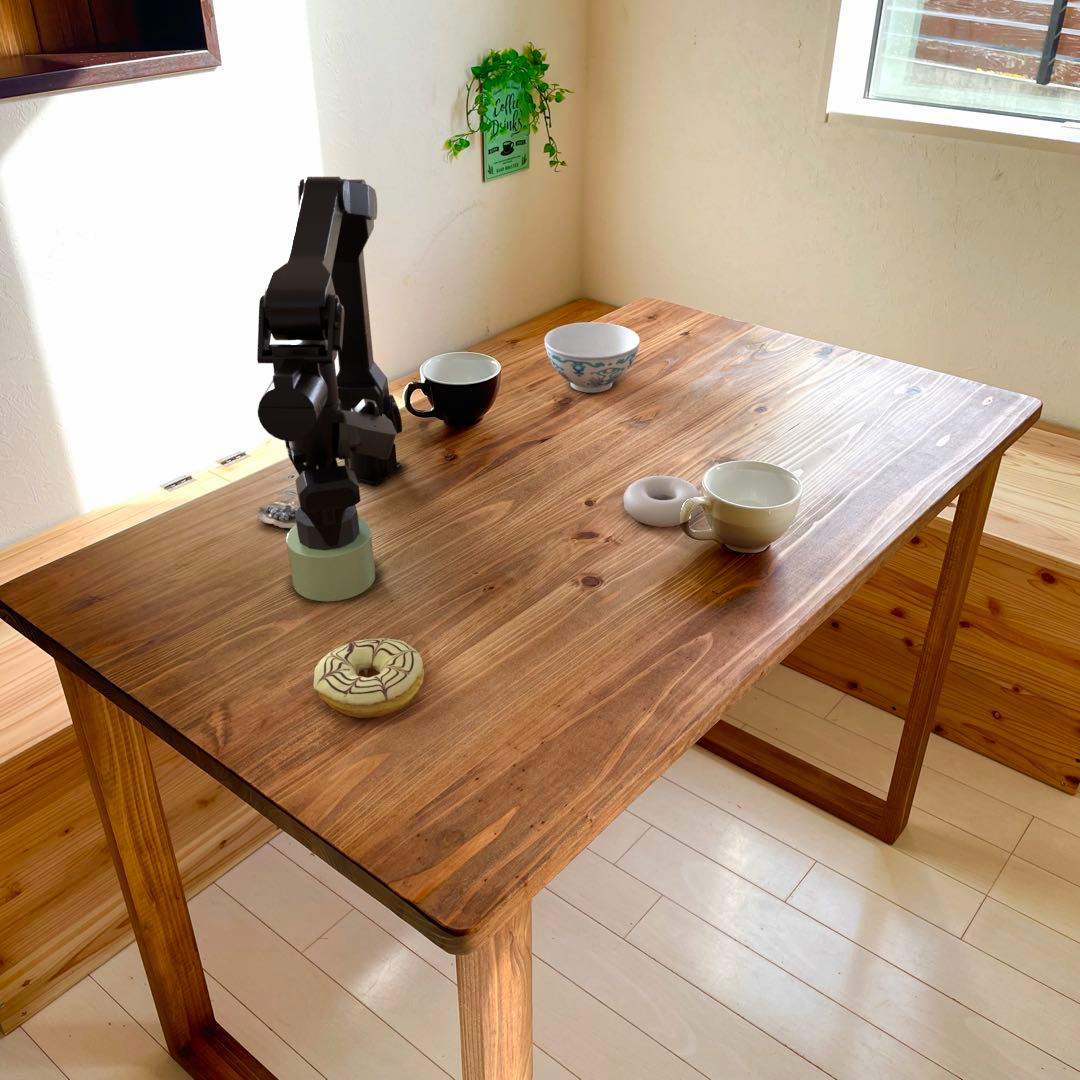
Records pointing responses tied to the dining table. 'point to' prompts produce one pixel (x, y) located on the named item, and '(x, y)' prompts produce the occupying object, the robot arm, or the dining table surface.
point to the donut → (659, 500)
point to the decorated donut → (369, 677)
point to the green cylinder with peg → (332, 567)
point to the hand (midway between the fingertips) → (327, 525)
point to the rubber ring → (313, 538)
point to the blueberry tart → (279, 514)
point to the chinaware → (591, 353)
